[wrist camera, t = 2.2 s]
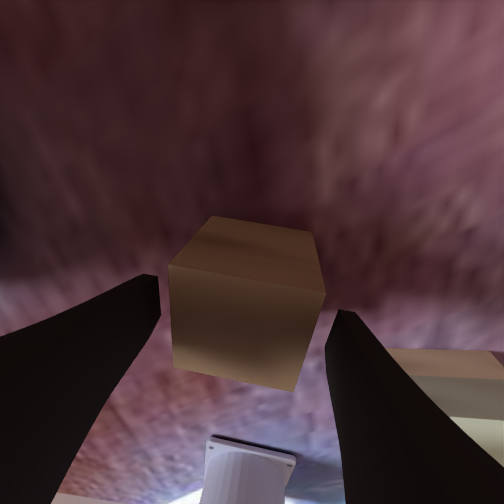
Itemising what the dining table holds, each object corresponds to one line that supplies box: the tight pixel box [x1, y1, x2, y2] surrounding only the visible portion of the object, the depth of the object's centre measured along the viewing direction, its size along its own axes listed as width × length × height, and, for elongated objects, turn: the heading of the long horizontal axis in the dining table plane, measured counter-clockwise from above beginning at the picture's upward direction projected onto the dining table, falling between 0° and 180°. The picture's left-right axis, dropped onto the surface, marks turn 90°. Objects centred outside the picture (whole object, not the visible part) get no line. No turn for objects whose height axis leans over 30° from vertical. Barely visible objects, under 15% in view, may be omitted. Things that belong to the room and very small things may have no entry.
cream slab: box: [385, 348, 504, 467], centre depth 14 cm, size 7×7×4 cm
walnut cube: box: [168, 216, 326, 392], centre depth 11 cm, size 5×5×5 cm
